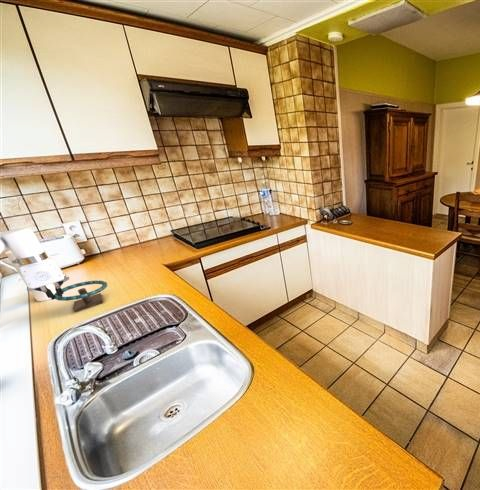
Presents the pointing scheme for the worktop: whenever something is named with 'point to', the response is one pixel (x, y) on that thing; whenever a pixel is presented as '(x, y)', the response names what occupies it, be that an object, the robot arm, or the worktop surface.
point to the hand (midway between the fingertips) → (57, 296)
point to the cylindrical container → (37, 294)
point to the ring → (57, 297)
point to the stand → (87, 301)
